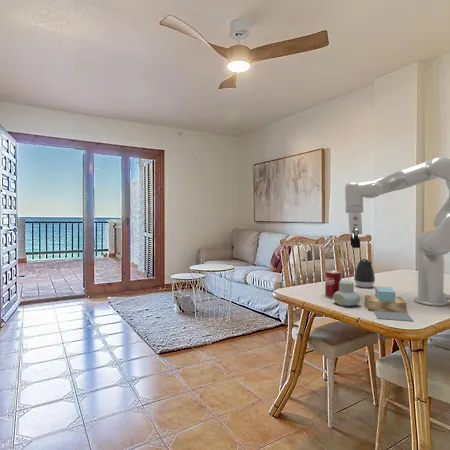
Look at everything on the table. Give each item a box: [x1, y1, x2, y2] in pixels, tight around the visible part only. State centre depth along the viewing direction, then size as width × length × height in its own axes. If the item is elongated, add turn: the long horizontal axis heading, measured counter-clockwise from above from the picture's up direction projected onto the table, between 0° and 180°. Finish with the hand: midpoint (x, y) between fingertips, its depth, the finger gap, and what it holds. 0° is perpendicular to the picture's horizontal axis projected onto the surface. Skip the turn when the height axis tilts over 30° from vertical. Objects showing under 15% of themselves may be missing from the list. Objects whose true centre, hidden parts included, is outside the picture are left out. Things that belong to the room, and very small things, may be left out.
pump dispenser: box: [353, 258, 376, 289], centre depth 176 cm, size 10×10×15 cm
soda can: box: [324, 270, 342, 299], centre depth 156 cm, size 7×7×12 cm
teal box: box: [374, 286, 396, 302], centre depth 136 cm, size 6×9×4 cm, turn 163°
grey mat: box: [373, 311, 414, 322], centre depth 126 cm, size 12×10×1 cm
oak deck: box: [364, 294, 408, 314], centre depth 136 cm, size 14×10×4 cm
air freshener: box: [332, 280, 361, 307], centre depth 142 cm, size 11×8×10 cm
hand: (355, 246), depth 150 cm, fingers open, 9 cm apart
